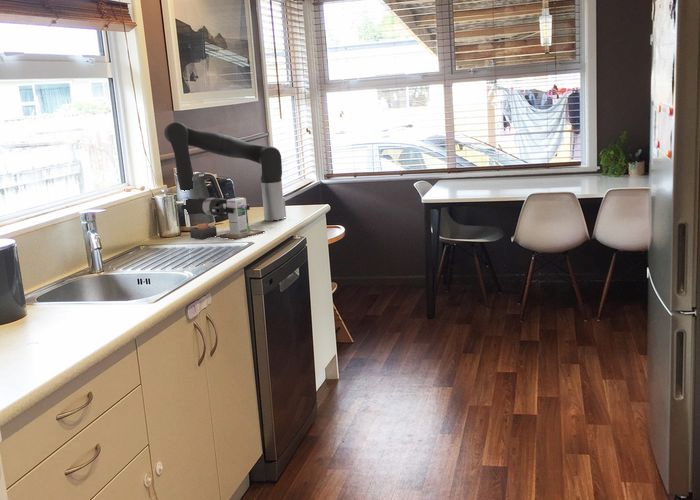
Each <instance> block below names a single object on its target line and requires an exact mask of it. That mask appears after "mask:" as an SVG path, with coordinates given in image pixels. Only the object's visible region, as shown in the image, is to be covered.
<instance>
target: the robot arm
mask: <svg viewBox="0 0 700 500" xmlns="http://www.w3.org/2000/svg"><path fill="white" fill-rule="evenodd" d="M164 128H165V129H164V130H163V131H164V138H165V139H166V140H167V141H168V142H169V143H170V144H171V148H172V150H173V155H174V159H175V168H176V177H177V182H178V185H179V190H180V191H181V190H184V191H185V190H190V189H193V181H192V177H193V176H194V177H195V175H194V174H195V173H194V170H193V167H192V162H191V158H190V157H191V156H190V150H189V146H190V147H193V148H194V147H195V148H197V149H199V150H200V149H201V150H202V151H206V152H208V153H212V154H215V155H219V156H223V157H228V158H235V159H243V160H248V161H252V162H254V163H257V164H260V166H261V176H260V183H261V195H262V196H261V197H262V204H263V205H262V208H263V217H264V219H263V220H264V221H266V222H267V221H268V222H274V221H273V220H277V221H280V220H279V219H282V220H284V219H283V218H284V217H286V218H287V213H286V212H287V211H286V209H287V208H286V199H285V197H284V194H283V183H282V175H283V163H282V162H283V161H282V155H281V152H280V150H279V149H278V148H277V147H275V146H270V145H262V144H255V143H251V142H247V141H245V140H242V139H240V138H238V137H235V136H231V135H228V134H224V133H220V132H214V131H205V130H197V129H194V128H191V127H188V126H186V125H185V124H184V123H182V122H179V121H174V122H171V123H169V124H168V125H166V127H164ZM227 200H228V199H226V198H221V197H219V198H218V197H202V198H199V199H188V200H186V205H182V206H181V209H182V210H183V211H184V209H186V210H187V212H188V214H187V215H198V214H202V215H209V216H214V217H215V216H216V217H224V216H225V217H226V215H228V213H234V209H233V208H229V207H227ZM246 205H247V211H249V210H250V204H247V203H246Z"/></svg>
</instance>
